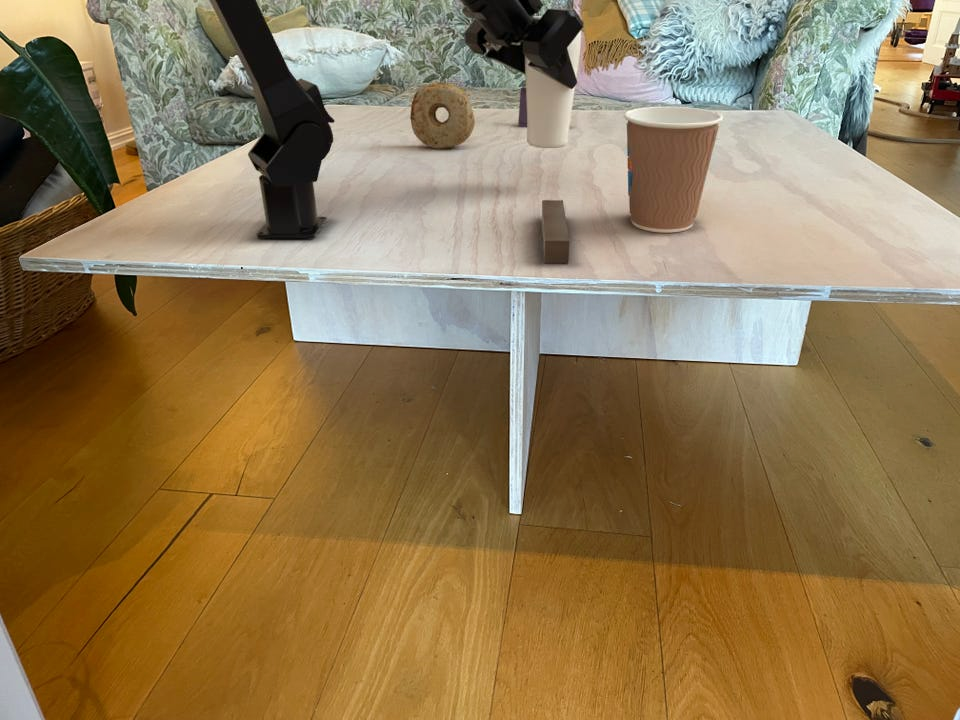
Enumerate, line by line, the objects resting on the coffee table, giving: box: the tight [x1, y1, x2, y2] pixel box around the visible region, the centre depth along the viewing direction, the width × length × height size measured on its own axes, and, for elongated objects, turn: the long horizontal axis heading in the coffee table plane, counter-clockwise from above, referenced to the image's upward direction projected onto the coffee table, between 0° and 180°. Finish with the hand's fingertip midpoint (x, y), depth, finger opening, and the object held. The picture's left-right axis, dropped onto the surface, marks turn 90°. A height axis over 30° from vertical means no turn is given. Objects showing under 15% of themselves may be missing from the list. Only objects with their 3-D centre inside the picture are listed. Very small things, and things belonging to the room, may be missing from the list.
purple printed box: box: [517, 86, 527, 127], centre depth 135 cm, size 7×5×9 cm
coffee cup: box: [623, 106, 724, 234], centre depth 82 cm, size 10×10×12 cm
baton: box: [541, 199, 570, 265], centre depth 79 cm, size 14×2×2 cm, turn 177°
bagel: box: [409, 81, 476, 149], centre depth 118 cm, size 10×4×10 cm, turn 77°
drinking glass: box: [525, 15, 583, 149], centre depth 92 cm, size 7×7×15 cm
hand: (559, 82), depth 92 cm, fingers closed on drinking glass, 6 cm apart
